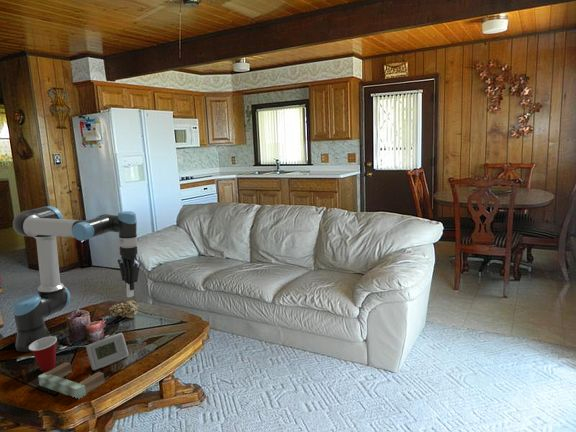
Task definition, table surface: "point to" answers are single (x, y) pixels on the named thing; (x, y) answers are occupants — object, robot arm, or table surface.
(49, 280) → the robot arm
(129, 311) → the mineral formation
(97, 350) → the digital clock
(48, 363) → the plastic cup
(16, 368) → the table surface
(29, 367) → the table surface
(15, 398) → the table surface
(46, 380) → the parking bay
